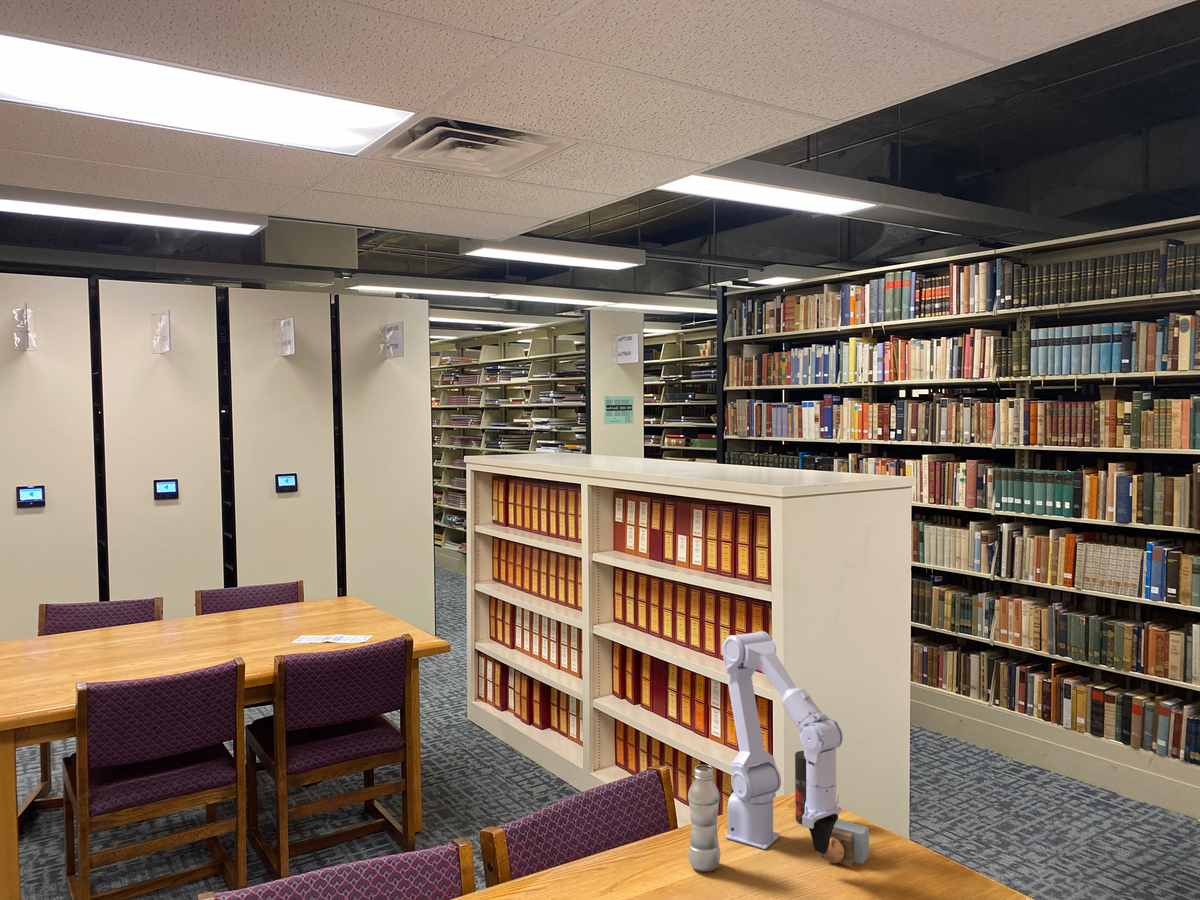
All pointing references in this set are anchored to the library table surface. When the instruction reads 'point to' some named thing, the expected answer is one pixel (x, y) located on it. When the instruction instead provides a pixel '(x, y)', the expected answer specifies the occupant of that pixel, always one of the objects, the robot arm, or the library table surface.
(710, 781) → the plastic bottle
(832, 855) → the shaft
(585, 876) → the library table surface
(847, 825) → the bearing block
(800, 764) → the deodorant
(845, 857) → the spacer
